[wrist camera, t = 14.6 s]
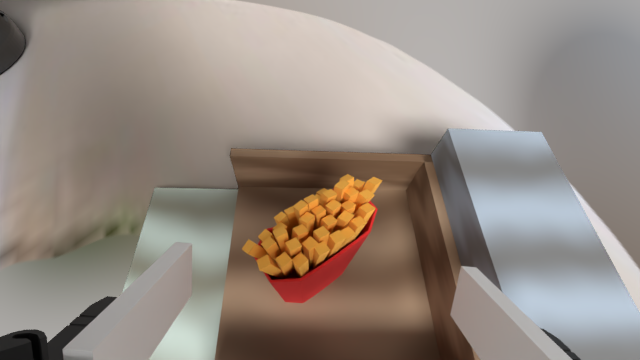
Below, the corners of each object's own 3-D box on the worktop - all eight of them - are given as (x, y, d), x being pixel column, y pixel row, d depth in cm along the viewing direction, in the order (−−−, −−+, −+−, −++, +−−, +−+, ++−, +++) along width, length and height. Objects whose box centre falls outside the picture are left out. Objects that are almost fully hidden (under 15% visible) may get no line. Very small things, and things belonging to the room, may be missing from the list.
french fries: (333, 227, 28) (358, 147, 18) (360, 262, 26) (405, 197, 16) (252, 281, 25) (226, 222, 15) (277, 325, 23) (269, 291, 13)
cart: (160, 185, 30) (111, 115, 22) (477, 192, 33) (541, 132, 25) (96, 401, 21) (-33, 422, 13) (544, 385, 24) (683, 393, 16)
